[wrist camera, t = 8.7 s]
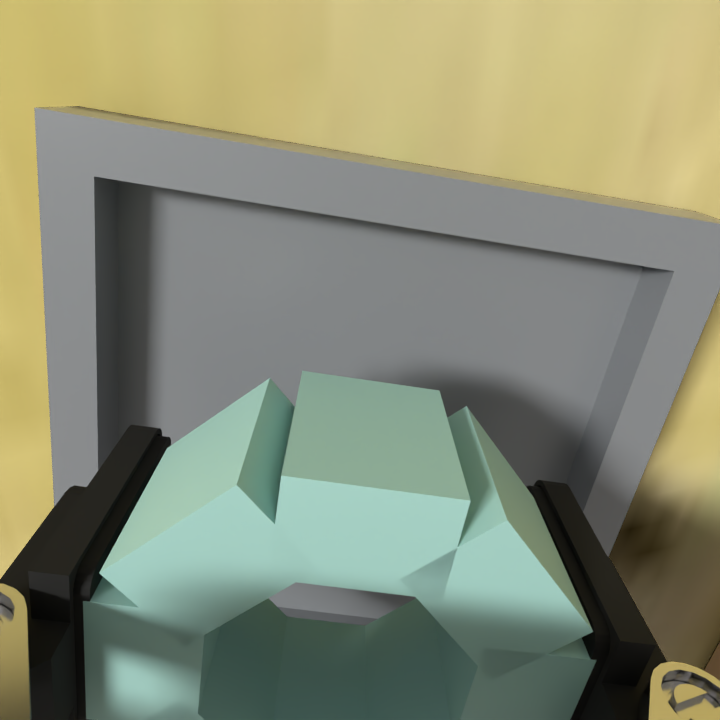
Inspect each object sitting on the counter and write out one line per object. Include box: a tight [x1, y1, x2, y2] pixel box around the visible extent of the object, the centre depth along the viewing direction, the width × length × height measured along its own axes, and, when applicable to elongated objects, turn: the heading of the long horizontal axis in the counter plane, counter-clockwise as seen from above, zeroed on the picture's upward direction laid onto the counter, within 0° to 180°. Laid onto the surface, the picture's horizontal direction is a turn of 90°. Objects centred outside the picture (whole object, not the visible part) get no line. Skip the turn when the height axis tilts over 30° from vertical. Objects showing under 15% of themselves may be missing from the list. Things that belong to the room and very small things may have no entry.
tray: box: [35, 106, 720, 626], centre depth 14 cm, size 13×13×2 cm
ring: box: [83, 371, 596, 720], centre depth 10 cm, size 7×7×3 cm
